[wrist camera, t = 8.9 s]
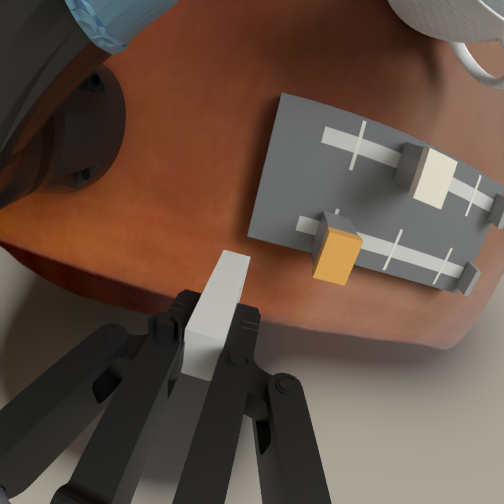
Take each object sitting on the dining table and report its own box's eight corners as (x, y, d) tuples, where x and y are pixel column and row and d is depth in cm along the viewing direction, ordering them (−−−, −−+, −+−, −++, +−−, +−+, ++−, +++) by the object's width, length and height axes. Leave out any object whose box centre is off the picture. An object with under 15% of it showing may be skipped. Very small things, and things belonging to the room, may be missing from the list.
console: (250, 228, 28) (243, 246, 25) (282, 94, 22) (280, 90, 18) (449, 284, 28) (463, 303, 24) (494, 182, 22) (515, 193, 18)
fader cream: (391, 181, 22) (413, 198, 17) (404, 140, 20) (430, 147, 16) (416, 191, 22) (440, 209, 17) (429, 151, 20) (457, 161, 16)
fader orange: (310, 248, 26) (312, 277, 21) (322, 209, 24) (329, 232, 19) (336, 255, 26) (344, 285, 21) (350, 217, 24) (363, 241, 19)
